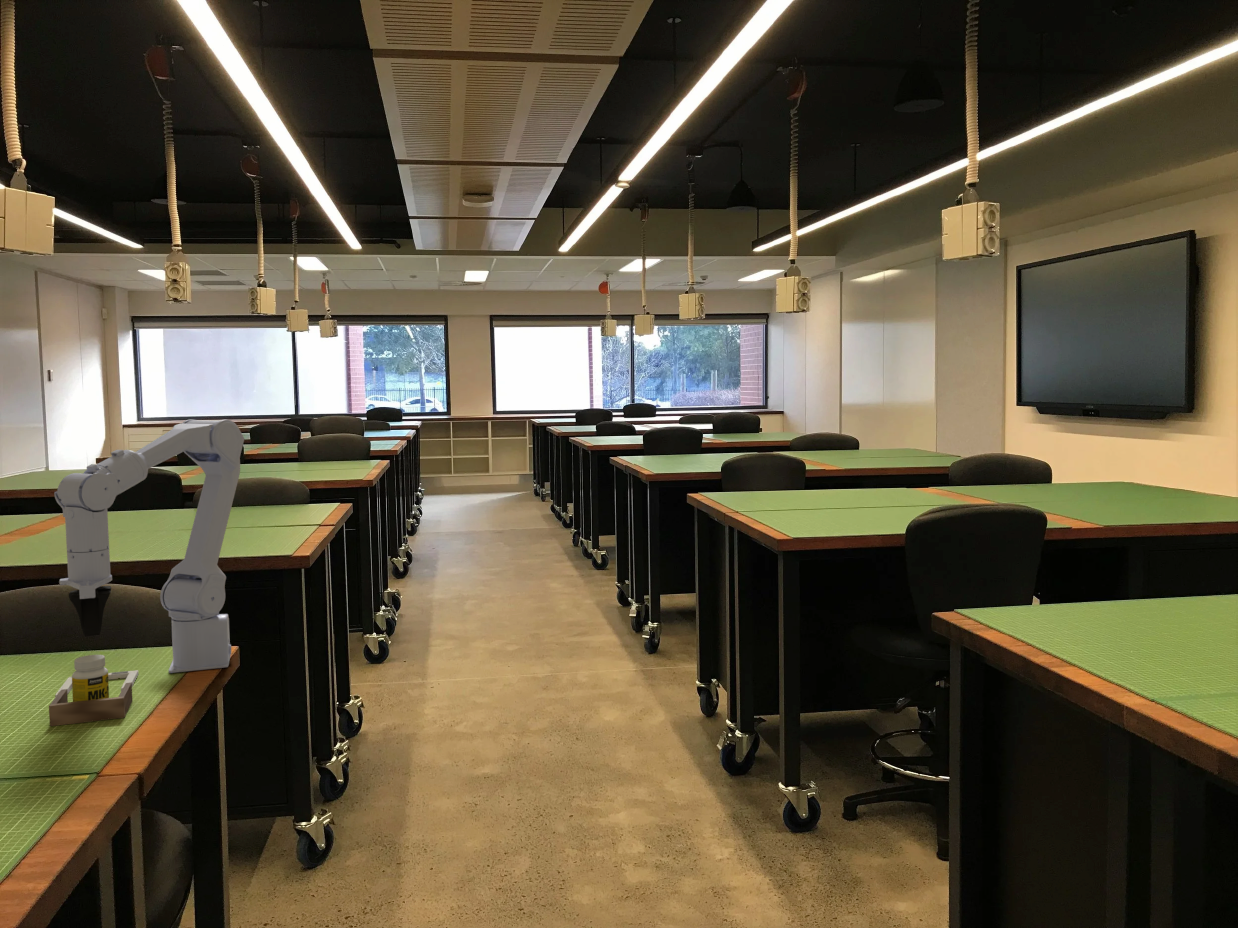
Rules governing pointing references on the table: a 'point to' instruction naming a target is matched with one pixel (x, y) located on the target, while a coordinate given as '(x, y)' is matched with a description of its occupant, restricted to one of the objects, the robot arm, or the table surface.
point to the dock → (128, 675)
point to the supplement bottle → (90, 678)
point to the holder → (89, 708)
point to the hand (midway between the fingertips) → (92, 634)
